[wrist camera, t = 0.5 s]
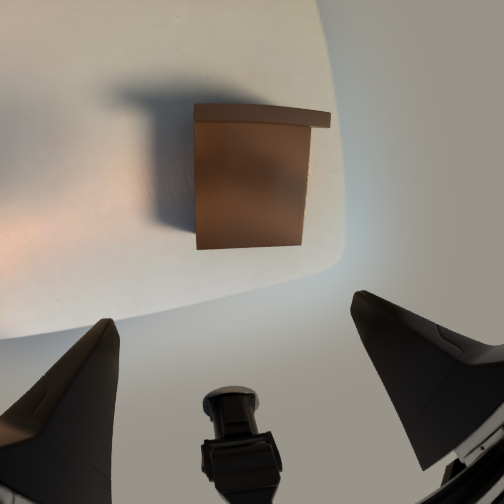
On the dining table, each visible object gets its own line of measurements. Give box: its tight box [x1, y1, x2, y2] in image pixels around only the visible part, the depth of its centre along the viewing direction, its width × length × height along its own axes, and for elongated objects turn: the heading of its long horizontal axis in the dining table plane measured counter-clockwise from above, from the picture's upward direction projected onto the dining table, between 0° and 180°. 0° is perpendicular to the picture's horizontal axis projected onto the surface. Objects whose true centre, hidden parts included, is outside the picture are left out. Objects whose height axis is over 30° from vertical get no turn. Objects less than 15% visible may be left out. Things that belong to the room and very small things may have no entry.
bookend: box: [194, 103, 331, 250], centre depth 18 cm, size 10×8×6 cm
